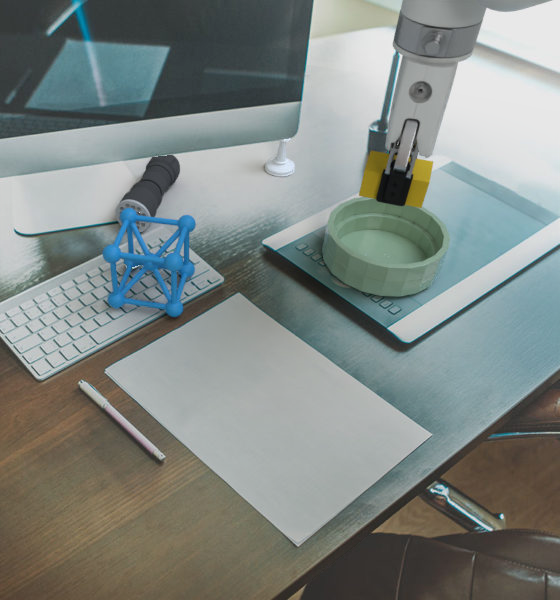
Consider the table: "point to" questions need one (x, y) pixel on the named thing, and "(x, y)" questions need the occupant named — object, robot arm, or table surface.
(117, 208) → the flashlight
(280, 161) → the chess piece
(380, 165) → the sponge
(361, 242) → the bowl
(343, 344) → the table surface
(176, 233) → the molecular structure
